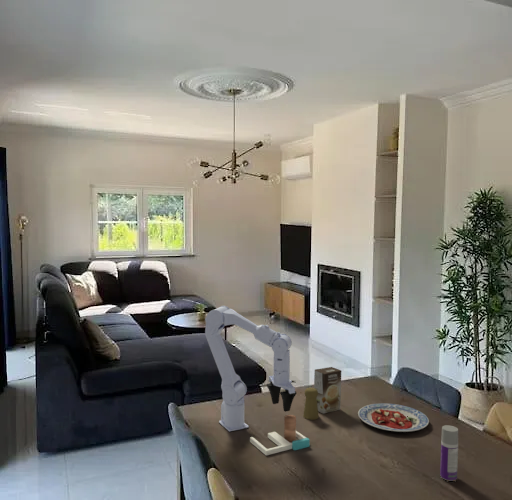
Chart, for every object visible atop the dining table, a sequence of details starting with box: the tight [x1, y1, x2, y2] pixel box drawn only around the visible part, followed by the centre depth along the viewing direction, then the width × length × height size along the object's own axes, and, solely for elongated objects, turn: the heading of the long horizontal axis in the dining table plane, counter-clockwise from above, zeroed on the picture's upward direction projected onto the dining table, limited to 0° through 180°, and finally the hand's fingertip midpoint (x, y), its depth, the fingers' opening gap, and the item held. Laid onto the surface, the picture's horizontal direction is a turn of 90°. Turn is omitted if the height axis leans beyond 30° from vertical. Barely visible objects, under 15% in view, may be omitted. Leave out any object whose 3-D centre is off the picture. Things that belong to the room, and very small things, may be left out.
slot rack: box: [249, 430, 311, 456], centre depth 164 cm, size 12×17×2 cm
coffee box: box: [313, 366, 342, 414], centre depth 195 cm, size 9×6×16 cm
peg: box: [283, 414, 297, 443], centre depth 167 cm, size 4×4×8 cm
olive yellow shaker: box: [302, 387, 320, 421], centre depth 187 cm, size 6×6×11 cm
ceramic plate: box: [357, 402, 430, 433], centre depth 184 cm, size 26×26×3 cm
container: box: [439, 424, 459, 481], centre depth 143 cm, size 5×5×15 cm
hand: (281, 407), depth 172 cm, fingers open, 7 cm apart
